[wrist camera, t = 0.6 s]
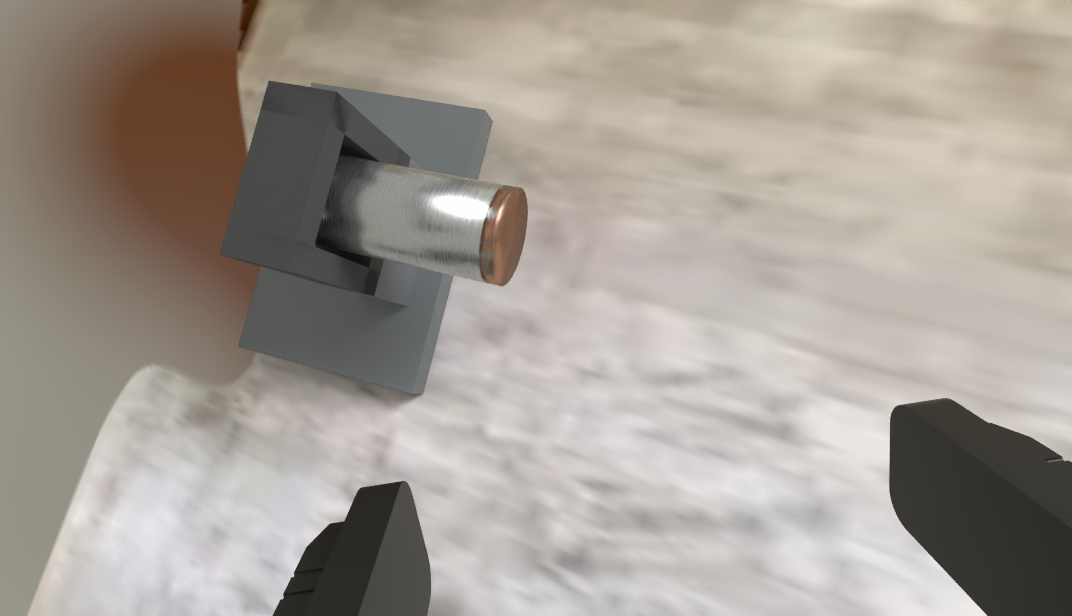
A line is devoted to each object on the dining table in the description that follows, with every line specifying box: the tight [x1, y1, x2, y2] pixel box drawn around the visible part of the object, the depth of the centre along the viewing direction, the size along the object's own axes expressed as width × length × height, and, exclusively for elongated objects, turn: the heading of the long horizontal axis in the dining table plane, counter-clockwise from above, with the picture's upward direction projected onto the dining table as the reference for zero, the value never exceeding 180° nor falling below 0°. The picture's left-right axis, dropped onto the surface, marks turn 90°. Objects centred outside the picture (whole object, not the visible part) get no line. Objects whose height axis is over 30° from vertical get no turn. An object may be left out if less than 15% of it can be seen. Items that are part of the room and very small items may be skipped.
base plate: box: [239, 83, 493, 394], centre depth 33 cm, size 16×11×6 cm
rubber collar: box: [220, 81, 411, 296], centre depth 27 cm, size 7×3×7 cm, turn 166°
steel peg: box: [315, 155, 528, 286], centre depth 26 cm, size 4×11×4 cm, turn 76°
